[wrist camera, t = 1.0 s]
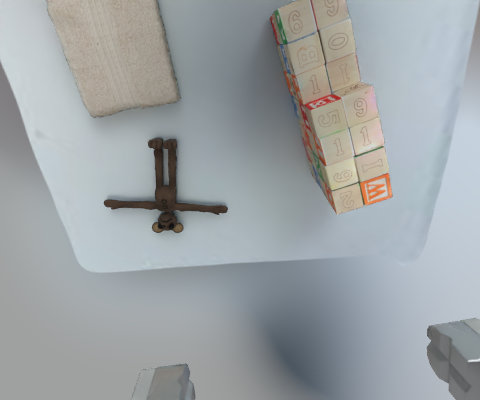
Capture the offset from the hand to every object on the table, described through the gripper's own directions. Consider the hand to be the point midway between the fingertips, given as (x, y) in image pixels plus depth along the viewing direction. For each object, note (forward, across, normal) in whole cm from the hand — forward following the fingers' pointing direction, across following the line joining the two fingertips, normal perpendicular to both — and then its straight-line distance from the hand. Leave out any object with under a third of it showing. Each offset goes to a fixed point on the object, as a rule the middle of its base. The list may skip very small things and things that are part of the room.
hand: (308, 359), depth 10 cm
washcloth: (+33, +13, -19) cm, 40 cm away
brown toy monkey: (+36, +12, +1) cm, 38 cm away
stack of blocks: (+34, -10, -8) cm, 36 cm away
